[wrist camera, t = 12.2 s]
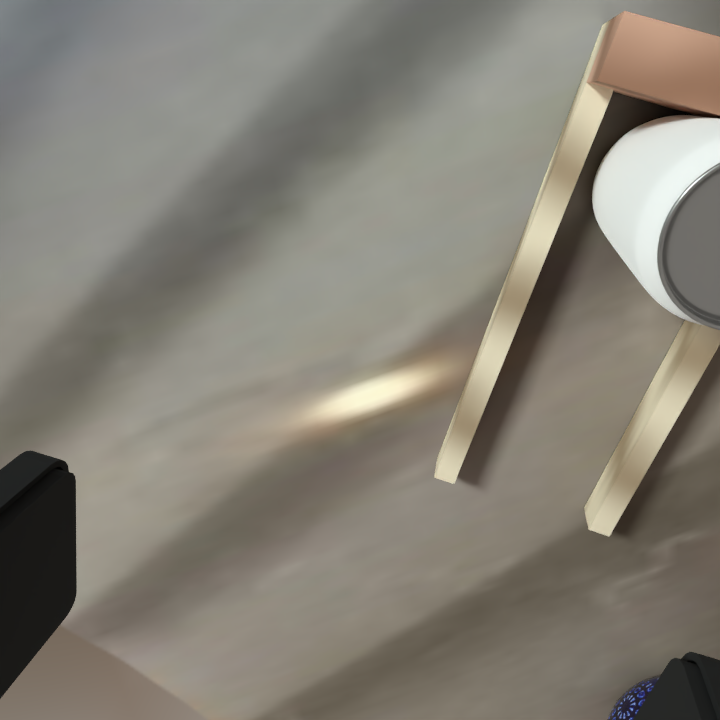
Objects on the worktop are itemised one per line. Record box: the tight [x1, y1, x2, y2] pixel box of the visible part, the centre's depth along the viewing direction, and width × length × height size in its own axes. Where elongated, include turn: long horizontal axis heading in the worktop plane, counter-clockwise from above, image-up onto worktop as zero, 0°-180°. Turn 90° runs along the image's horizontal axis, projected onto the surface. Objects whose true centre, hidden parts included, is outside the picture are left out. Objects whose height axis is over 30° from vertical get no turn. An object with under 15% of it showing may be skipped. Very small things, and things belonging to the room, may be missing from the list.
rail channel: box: [434, 11, 720, 536], centre depth 29 cm, size 24×10×5 cm, turn 165°
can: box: [592, 115, 720, 330], centre depth 23 cm, size 6×6×12 cm
